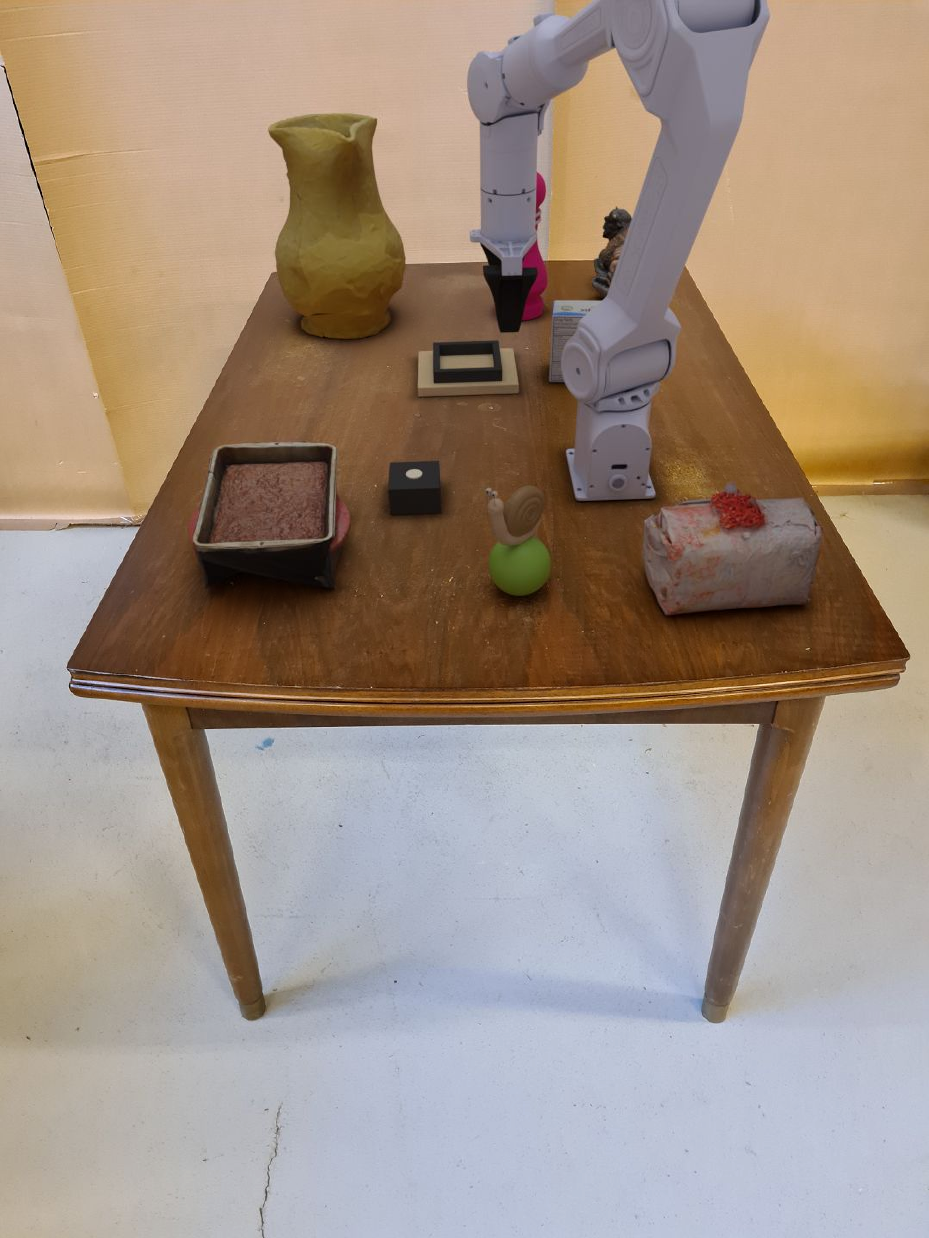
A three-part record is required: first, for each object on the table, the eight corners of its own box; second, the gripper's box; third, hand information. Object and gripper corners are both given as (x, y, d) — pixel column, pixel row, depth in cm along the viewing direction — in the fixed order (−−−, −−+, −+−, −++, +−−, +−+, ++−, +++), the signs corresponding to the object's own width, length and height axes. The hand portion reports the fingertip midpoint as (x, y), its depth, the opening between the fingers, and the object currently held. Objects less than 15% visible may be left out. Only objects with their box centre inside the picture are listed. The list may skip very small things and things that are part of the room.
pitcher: (275, 348, 118) (248, 133, 103) (291, 299, 133) (270, 105, 117) (406, 347, 119) (399, 133, 103) (409, 299, 133) (402, 106, 118)
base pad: (518, 393, 108) (519, 372, 106) (418, 397, 108) (416, 376, 106) (512, 356, 116) (513, 336, 114) (419, 360, 116) (417, 339, 114)
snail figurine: (468, 594, 80) (464, 478, 72) (517, 562, 83) (519, 448, 76) (512, 622, 77) (514, 504, 69) (562, 588, 80) (569, 472, 73)
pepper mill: (487, 306, 128) (486, 151, 115) (535, 298, 130) (539, 145, 116) (504, 325, 123) (505, 166, 110) (554, 318, 124) (561, 160, 111)
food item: (654, 626, 76) (669, 531, 70) (633, 568, 82) (645, 475, 76) (813, 615, 77) (842, 519, 70) (781, 558, 83) (805, 465, 76)
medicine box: (613, 368, 113) (619, 300, 107) (614, 385, 109) (620, 315, 103) (549, 367, 113) (552, 298, 108) (548, 383, 110) (551, 314, 104)
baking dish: (365, 520, 92) (348, 427, 87) (345, 613, 77) (324, 507, 72) (227, 533, 93) (202, 441, 88) (180, 627, 78) (147, 523, 73)
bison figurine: (642, 308, 126) (650, 234, 120) (591, 308, 127) (596, 234, 120) (635, 276, 135) (642, 205, 129) (588, 276, 136) (592, 205, 129)
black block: (440, 513, 90) (439, 486, 88) (390, 515, 90) (387, 488, 88) (440, 485, 93) (439, 459, 91) (391, 487, 93) (389, 460, 91)
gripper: (467, 168, 98) (469, 293, 107) (471, 211, 87) (473, 346, 96) (532, 166, 98) (529, 291, 107) (544, 209, 87) (540, 343, 96)
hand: (507, 317), depth 101 cm, fingers open, 7 cm apart
